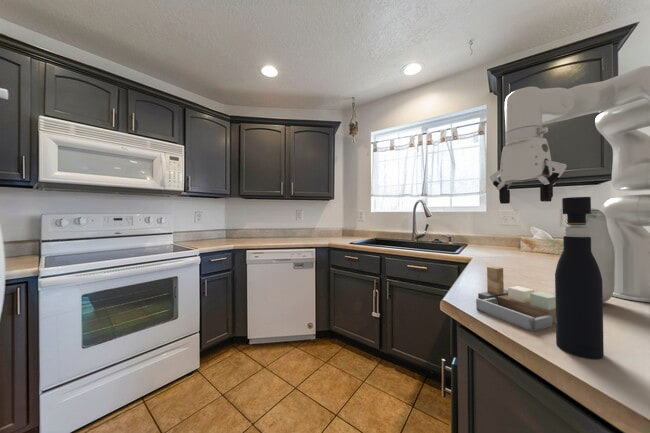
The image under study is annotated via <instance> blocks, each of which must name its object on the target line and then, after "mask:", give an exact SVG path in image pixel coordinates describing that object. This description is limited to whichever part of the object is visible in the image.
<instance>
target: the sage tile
mask: <svg viewBox="0 0 650 433" xmlns="http://www.w3.org/2000/svg"><path fill="white" fill-rule="evenodd" d="M530 305H533V306H536V307H539V308H542V309H546V310H553V309H556V304H555V294H552V293H548V292H543V291H536V292H535V291H534V293H530Z"/></svg>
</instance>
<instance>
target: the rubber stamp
mask: <svg viewBox="0 0 650 433" xmlns="http://www.w3.org/2000/svg"><path fill="white" fill-rule="evenodd" d="M486 281H487V283H486V284H487V287H486V288H487V291H485V292H480V293H479V292H478V294H477V295H478V296H477V298H479V299H482V300H483V299H489V298H497V302H498V296H503V295H508V290H506V289H504V288H505V287H504V268H503V267H499V266H495V265H492V266H487V267H486Z"/></svg>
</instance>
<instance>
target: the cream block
mask: <svg viewBox="0 0 650 433" xmlns="http://www.w3.org/2000/svg"><path fill="white" fill-rule="evenodd" d="M507 289H508V290H507V291H508V298H510V299H513V300H516V301H520V302H523V303H526V302H530V293H535V289H532V288H527V287H524V286H520V285H515V286H508V288H507Z"/></svg>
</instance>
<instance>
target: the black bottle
mask: <svg viewBox="0 0 650 433" xmlns="http://www.w3.org/2000/svg"><path fill="white" fill-rule="evenodd" d="M561 200H562V202H561V205H562V206H561V207H562V209H561V210H562V215H567V216H566V219H567V220H566V225H568V226H569V225H586V214H591V208H592V197H591V196H574V197H573V196H571V197H562V199H561ZM568 226H566V227H565V228H564V231H565V232H564V234H565V236H563V243H562V244H563V249H564V250H563V249H562V252H561V255H560V257H559V258H558V261H557V264H556V267H555V273H554V282H555V283H554V289H555V290H554V292H555V293H554V295H555V304H556V322H555V339H556V340H555V342H556V346H557V347H558V348H559V349H561V350H562V351H564V352H566V353H569V354H570V355H574V356H577V357H580V358H584V359H590V360H601V359H604V356H605V355H604V354H605V352H604V346H605V345H604V302H603V286H602V276H601V273H600V269H599V266H598V264H597V262H596V260H595V258H594V256H593V254H592V252H591V237H588V235H589V233H588V231H589V230H588V227H568Z"/></svg>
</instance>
